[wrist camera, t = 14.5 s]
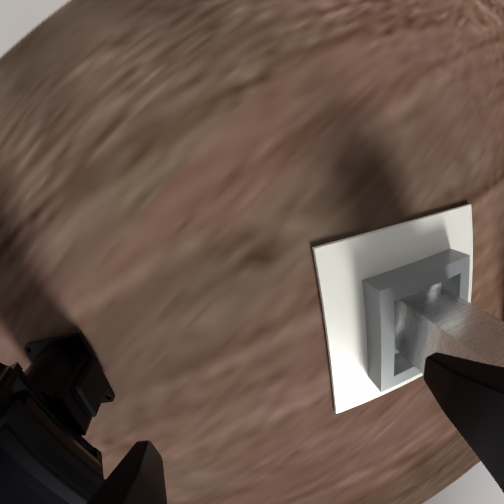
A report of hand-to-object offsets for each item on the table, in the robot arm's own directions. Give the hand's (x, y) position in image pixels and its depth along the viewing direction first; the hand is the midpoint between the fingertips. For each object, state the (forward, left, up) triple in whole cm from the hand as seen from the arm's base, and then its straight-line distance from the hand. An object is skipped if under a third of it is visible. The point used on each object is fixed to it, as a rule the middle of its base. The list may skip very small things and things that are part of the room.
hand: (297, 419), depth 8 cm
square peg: (+13, -7, -13) cm, 19 cm away
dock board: (+13, -7, -14) cm, 20 cm away
